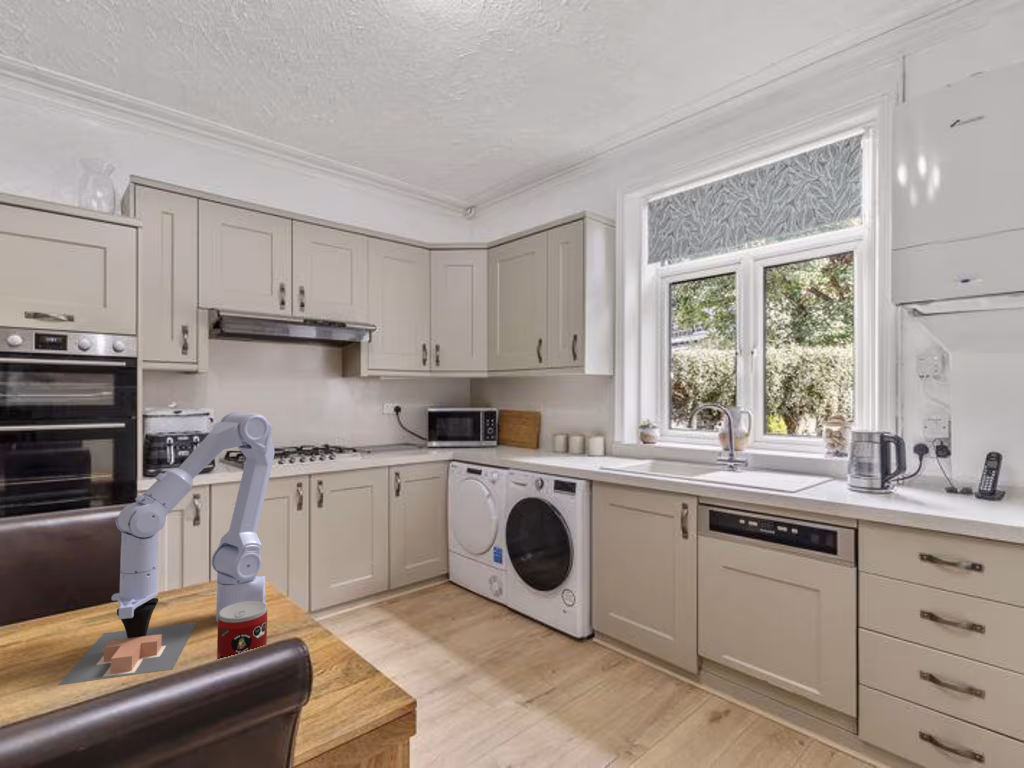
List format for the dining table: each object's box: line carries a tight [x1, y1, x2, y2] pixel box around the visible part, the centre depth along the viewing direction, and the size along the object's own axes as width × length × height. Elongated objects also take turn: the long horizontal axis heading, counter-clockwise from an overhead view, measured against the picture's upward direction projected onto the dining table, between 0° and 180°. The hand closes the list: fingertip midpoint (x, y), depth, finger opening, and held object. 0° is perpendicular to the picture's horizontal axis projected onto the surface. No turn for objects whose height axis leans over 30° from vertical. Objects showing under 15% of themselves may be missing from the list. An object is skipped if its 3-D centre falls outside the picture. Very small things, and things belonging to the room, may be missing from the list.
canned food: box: [216, 601, 268, 660], centre depth 93 cm, size 8×8×11 cm
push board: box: [58, 621, 197, 686], centre depth 99 cm, size 16×20×1 cm
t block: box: [104, 634, 162, 674], centre depth 95 cm, size 8×8×2 cm
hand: (137, 643), depth 100 cm, fingers closed
